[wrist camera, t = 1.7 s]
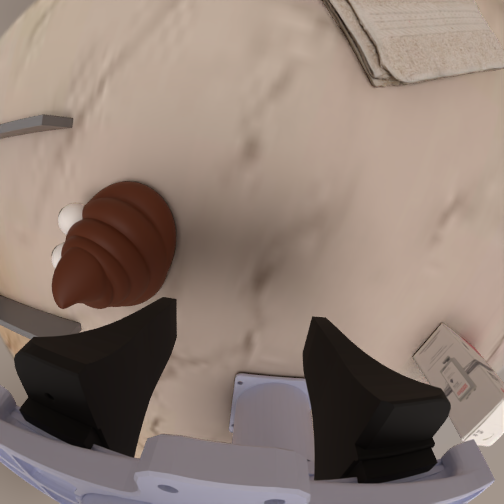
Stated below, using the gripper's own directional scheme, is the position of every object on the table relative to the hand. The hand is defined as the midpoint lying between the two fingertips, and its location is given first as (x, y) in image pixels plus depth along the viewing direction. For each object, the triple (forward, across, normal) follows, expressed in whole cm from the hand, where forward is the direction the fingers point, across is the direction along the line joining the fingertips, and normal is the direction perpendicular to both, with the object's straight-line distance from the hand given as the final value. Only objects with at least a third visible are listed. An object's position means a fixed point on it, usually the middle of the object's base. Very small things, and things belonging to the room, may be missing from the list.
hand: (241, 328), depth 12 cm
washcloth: (+10, -12, -23) cm, 28 cm away
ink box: (+10, -22, +8) cm, 25 cm away
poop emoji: (+10, +10, 0) cm, 14 cm away
